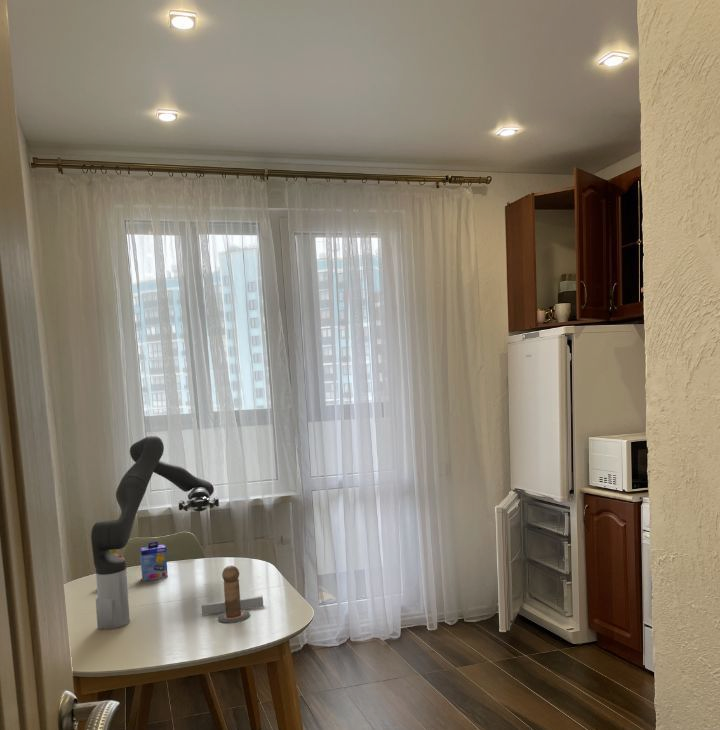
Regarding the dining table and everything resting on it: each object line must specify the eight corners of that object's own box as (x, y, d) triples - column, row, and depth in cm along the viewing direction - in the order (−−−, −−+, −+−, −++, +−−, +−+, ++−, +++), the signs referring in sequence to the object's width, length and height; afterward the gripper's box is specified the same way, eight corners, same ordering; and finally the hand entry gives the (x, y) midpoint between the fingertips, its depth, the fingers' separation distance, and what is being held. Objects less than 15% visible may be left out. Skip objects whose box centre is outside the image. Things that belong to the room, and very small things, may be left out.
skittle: (237, 618, 212) (233, 568, 212) (221, 617, 213) (218, 568, 214) (245, 612, 217) (241, 563, 217) (230, 612, 219) (226, 563, 219)
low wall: (263, 604, 225) (262, 595, 225) (263, 606, 224) (262, 597, 224) (201, 613, 221) (201, 604, 221) (201, 615, 219) (201, 605, 219)
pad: (240, 623, 209) (240, 621, 209) (212, 622, 212) (212, 620, 212) (255, 612, 218) (254, 610, 218) (227, 611, 221) (227, 609, 221)
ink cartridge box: (142, 581, 264) (140, 544, 265) (141, 578, 269) (138, 542, 270) (168, 577, 269) (166, 540, 269) (166, 573, 274) (164, 538, 274)
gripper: (179, 491, 254) (177, 498, 238) (218, 487, 257) (218, 494, 241) (181, 511, 254) (178, 519, 238) (219, 507, 257) (219, 515, 241)
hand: (198, 506), depth 240 cm, fingers open, 8 cm apart
